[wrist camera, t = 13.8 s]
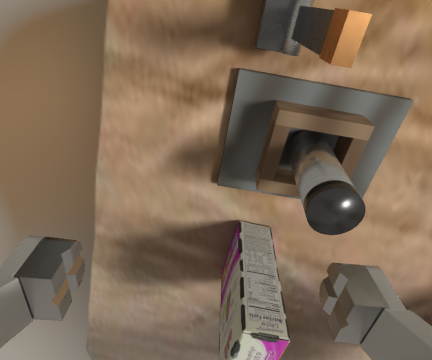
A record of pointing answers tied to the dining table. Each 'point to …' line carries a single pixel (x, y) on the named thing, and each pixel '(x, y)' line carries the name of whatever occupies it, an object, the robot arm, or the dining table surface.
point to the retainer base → (279, 25)
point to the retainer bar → (331, 33)
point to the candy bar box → (252, 298)
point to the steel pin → (323, 185)
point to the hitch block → (304, 120)
